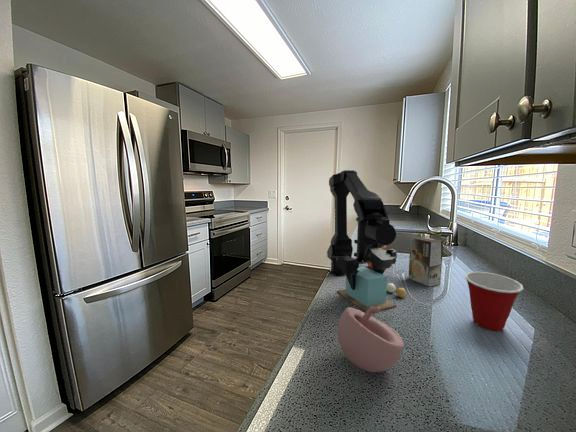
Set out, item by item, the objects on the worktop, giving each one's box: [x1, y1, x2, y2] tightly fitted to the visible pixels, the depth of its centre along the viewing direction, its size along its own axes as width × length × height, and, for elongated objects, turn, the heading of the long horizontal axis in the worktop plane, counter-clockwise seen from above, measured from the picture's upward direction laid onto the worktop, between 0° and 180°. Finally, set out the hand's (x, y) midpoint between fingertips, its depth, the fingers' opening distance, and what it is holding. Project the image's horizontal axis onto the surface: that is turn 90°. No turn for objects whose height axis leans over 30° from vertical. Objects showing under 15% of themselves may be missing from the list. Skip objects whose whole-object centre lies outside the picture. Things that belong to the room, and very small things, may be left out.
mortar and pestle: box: [337, 306, 405, 373], centre depth 45 cm, size 12×12×12 cm
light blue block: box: [345, 265, 388, 307], centre depth 72 cm, size 10×7×8 cm
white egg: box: [386, 282, 397, 293], centre depth 77 cm, size 3×3×3 cm
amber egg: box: [395, 287, 407, 298], centre depth 74 cm, size 3×3×3 cm
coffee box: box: [408, 236, 444, 287], centre depth 86 cm, size 9×6×16 cm
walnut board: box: [336, 288, 397, 313], centre depth 72 cm, size 15×10×1 cm, turn 24°
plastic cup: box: [464, 271, 524, 332], centre depth 58 cm, size 11×11×12 cm
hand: (365, 287), depth 72 cm, fingers open, 9 cm apart
